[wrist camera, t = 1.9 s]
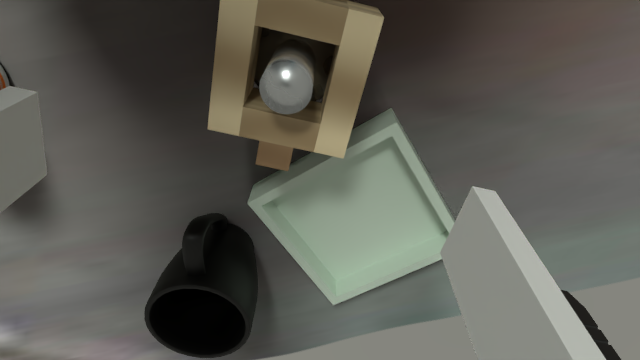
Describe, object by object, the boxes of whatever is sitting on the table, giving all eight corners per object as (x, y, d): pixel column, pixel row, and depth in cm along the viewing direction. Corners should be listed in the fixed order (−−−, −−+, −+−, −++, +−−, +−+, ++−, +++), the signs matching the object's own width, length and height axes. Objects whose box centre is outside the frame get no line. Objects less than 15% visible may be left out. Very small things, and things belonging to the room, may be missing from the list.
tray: (253, 184, 36) (247, 203, 34) (391, 107, 33) (396, 121, 30) (333, 282, 42) (333, 305, 39) (459, 227, 38) (468, 247, 36)
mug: (271, 179, 36) (253, 249, 28) (265, 280, 42) (249, 363, 34) (176, 169, 36) (130, 238, 28) (184, 273, 42) (149, 354, 34)
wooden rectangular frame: (236, -28, 23) (222, -23, 20) (377, 7, 23) (384, 17, 20) (218, 130, 27) (205, 153, 24) (336, 155, 28) (336, 181, 25)
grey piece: (269, -10, 29) (235, 16, 19) (347, 9, 29) (356, 45, 19) (257, 68, 31) (222, 128, 21) (328, 85, 32) (328, 151, 22)
